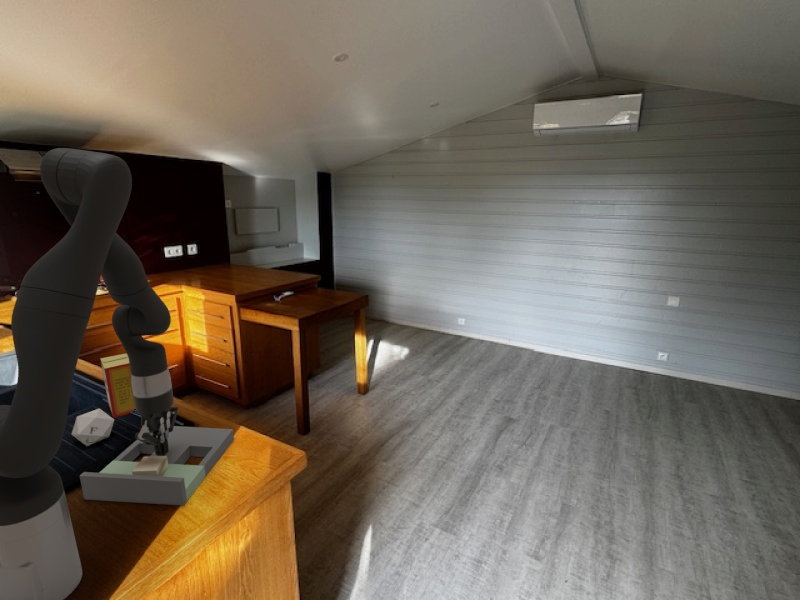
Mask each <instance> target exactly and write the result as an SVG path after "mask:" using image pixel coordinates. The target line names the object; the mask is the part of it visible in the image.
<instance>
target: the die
mask: <svg viewBox="0 0 800 600" xmlns="http://www.w3.org/2000/svg"><path fill="white" fill-rule="evenodd" d="M114 422H115V418H113V417H111V415H109V414H108V413H106V412H105V411H103V410H102V409H101V408H96V409H95V410H91V411H87V412H86V413H83V414H80V415H77V416H76V418H75V423H74V425H73V427H72V431H71V436H73V437H74V438H75V439H77V440H78V441H79V442H81V443H82V444H83V445H85V446H86V447H89V446H91V445H94V444H95V443H98V442H101V441H103V440H105V439H108V438H110V435H111V432H112V429H113V426H114Z"/></svg>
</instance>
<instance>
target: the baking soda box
mask: <svg viewBox="0 0 800 600" xmlns="http://www.w3.org/2000/svg"><path fill="white" fill-rule="evenodd" d="M99 359H100V364H101V369H102V376H103V379H104V380H103V382H104V387H105V391H106V397H107V403H108V407H109V410H110V412H111V415H112V418H113V419H115V418H118V417H123V416H126V415H130V414H131V413H130V412H132V411H133V410H134V409H136V407H135V401H134V396H133V390H132V383H131V379H132V377H131V370H130V364H129V358H128V355H127V353H126V352H125V353H121V354H113V355H109V356H105V357H104V356H103V357H100V358H99ZM129 413H130V414H129Z"/></svg>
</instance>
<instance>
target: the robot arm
mask: <svg viewBox="0 0 800 600" xmlns="http://www.w3.org/2000/svg"><path fill="white" fill-rule="evenodd" d="M39 174H40V178H41V179H40V180H41V181H42V185H43V186H44V188H45V190H46V192H47V194H48V195H49V197H50V199H51V200H52V201H53V202H54V204H55V206H56V207H57V209H58V210H59V212H60V213H61V214H62V216H63V217H64V218H65V220H66V222H67V223H68V224H69V225H70V228H69V230H68V231H67V233H66V234H65V235H64V236H63V237H62V238H61V240H59V241H58V242H56V244H55V245H53V246H52V248H50V249H49V250H48V251H47V252H46V253H45V254H44V255H42V256H41V257H40V258H39V259H38V260H37V261H36V262H35V263H34V264H32V266H31V267H30V268H29V269H28V271H27V272H26V273H25V275H24V277H23V279H22V281H21V283H20V288H19V289H18V293H17V296H16V300H15V302H14V306H13V309H12V313H11V319H10V320H11V323H10V326H11V327H10V328H11V334H12V341H13V347H14V353H15V357H16V363H17V373H18V374H17V382H16V387H15V390H14V395H13V397H12V399H11V400H12V401H11V405H9V404H0V600H65V599H66V598H68V597H69V595H71V594H72V593H73V592H74V591H75V589H76V588H77V587H78V586H79V584H80V582H81V580H82V577H83V569H82V568H83V567H82V563H81V559H80V554H79V550H78V545H77V542H76V538H75V537H76V536H75V533H74V527H73V523H72V519H71V515H70V510H69V506H68V501H67V496H66V492H65V488H64V483H63V481H62V477H61V475H60V474H59V472H57V470H55V469H54V468H53V467H51V465H49V464H50V463H51V461H52V460H53V458H54V457H55V456H56V455H57V453H58V450H59V449H60V446H61V444H62V442H63V438H64V435H65V430H66V426H67V420H68V418H67V417H68V411H69V406H70V399H71V393H72V392H71V391H72V387H73V382H74V376H75V372H76V368H77V364H78V360H79V356H80V354H81V353H80V352H81V349H82V345H83V341H84V337H85V333H86V330H87V327H88V324H89V321H90V318H91V315H92V311H93V308H94V304H95V300H96V298H97V297H96V296H97V292H98V287H99V284H100V280H101V277H102V280H103V282H104V285H105V287H106V290H107V291H108V293H109V296H110V298H111V299H112V300H113V302H115V303H117V304H119V305H117V307H116V308H115V309H114V311H113V313H112V315H111V323H112V325H111V326H112V329H113V330H114V333H115V335H116V336H117V338H118V340H119V342H120V343H121V346H122V347H123V349H124V351H125V353H126V354H127V355H128V358H129V364H130V370H131V377H132V379H131V383H132V390H133V396H134V401H135V407H136V411H137V412H136V413H138V414H139V415H140V417H141V419H140V425H141V426H142V427H141V428H140V431H139V432H136V433H135V434H134V438H135V440H137V439H138V440H139V441H141V442H143V443H144V444H146V445H154V448H155V454H156V455H157V456H165V455H166V454H167V453H168V452H169V449H168V447H169V446H168V440H167V439H168V437H169V432H172V431H173V427H174V426H175V424H176V419H177V416H178V410H179V407H178V406H175V405H174V403H175V400H174V394H173V392H174V391H173V385H172V379H171V374H170V370H169V367H168V359H167V351H166V347H165V346H164V344H162V343H160V342H156V341H150V340H147V339H145V336H159V335H163V334H164V333H166V332H167V331H168V330H169V328H170V326H171V324H172V323H171V322H172V318H171V313H170V311H169V308H168V307H167V306H168V305H166V304H165V302H164V301H163V300H162V298H160V296H159V295H158V293H156V290H154V288H152V286H151V285H150V282H149V279H148V277H147V274H146V270H145V268H144V266H143V263H142V261H141V260H140V258H139V256H138V254H136V252H135V251H134V250H133V248H132V247H131V246H130V245H129V244H128V243H127V242H126V241H125V240H124V239H123V238H122V237H121V235H119V234H118V233H117V230H118V227H119V226H120V223H121V221H122V218H123V216H124V213H125V212H126V209H127V206H128V204H129V200H130V198H131V197H130V196H131V193H132V187H133V186H132V185H133V184H132V183H133V177H132V173H131V169H130V167H129V166H128V164H127V162H126V161H125V160H124V159H122V158H121V157H120V156H116V155H115V154H109V153H105V152H97V151H92V150H84V149H77V148H68V147H57V148H54V149H53V148H52V149H50V150H49V151H47V152H46V153H45V154H44V156H43V157H42V159H41V160H40V166H39ZM143 336H144V337H143ZM173 405H174V406H173Z"/></svg>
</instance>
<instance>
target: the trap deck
mask: <svg viewBox="0 0 800 600" xmlns="http://www.w3.org/2000/svg"><path fill="white" fill-rule="evenodd" d="M167 440H168V446H169V447H168V449H169V452H168V453H167V454H166V455H165V456H167V460H168V469H167V470H166V471H165V473H164V474H163V476H162V477H161V476H144V475H133V474H132V471H133V470H134V468H135V467H136V466H137V465H138V463H139V462H140V461H134V460H135V459H137V458H138V456H140V455H141V454H144V455H145V454H148V455H150V456H157V455H156V454H155V448H154V445H146V444H144V443H143V442H141V441H139V440H138V439H135V441H133V443H131V444H130V445H129V446H128V447H127V448H125V449H124V451H122V452H121V453H120V454H119V455H118V456H117V457H116V458H114V459H113V460H112V461H111V462H110V463H109V464H106V466H105V467H104V468H103V469H102V470H100V471H99V472H92V471H91V472H89V471H83V472H82V473H81V474H80V475H79V479H80V484H81V485H80V486H81V489H82V495H83V499H84V500H88V501H89V500H91V501H104V502H105V501H106V502H122V503H137V504H138V503H139V504H156V505H170V506H171V505H172V506H185V505H186V503H187V502H188V501H189V499H190V498H191V497H192V495H193V494H194V493H195V491H196V490H197V489H198V487H199V486H200V484H201V483H202V482H203V481H204V479H206V476H207V475H208V474H209V473H210V472H211V471H212V469H213V468H214V466H215V465H216V464H217V462H218V461H219V459H220V458H221V457H222V456H223V455H224V453H225V452H226V451H227V449H228V447H229V446H230V445H231V444H232V442H233V441H234V440H235V435H234V429H233V428H216V427H215V428H214V427H200V426H199V427H197V426H178V425H174V427H173V431H172V432H169V437H168V439H167ZM191 457H198V458H199V457H200V458H203V459H202V460H201V461H200V462H199V463H198V465H196V464H185V463H186V462H187V461H188V460H189V459H190V458H191Z"/></svg>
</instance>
